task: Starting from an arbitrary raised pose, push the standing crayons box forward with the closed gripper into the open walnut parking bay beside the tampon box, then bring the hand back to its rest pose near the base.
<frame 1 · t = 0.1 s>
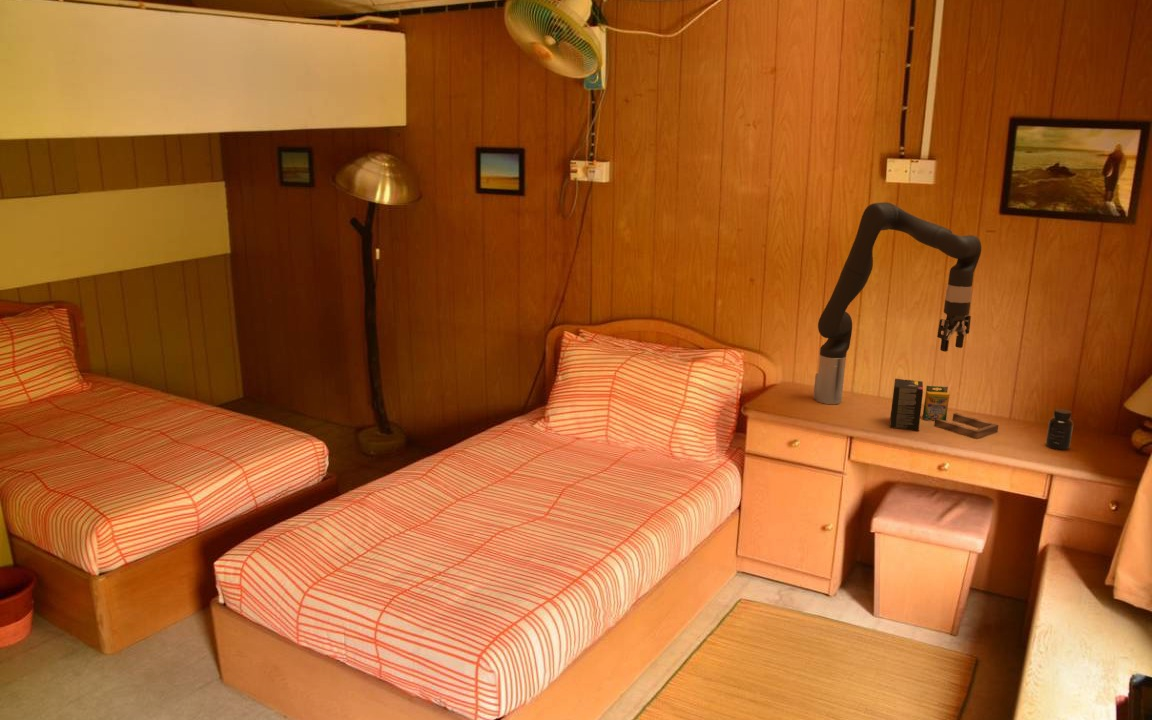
hand: (951, 349, 292), 29 cm above the table, tool pointing down, fingers open, 8 cm apart
supplement bottle: (1057, 447, 292), on the table
bay: (963, 428, 308), on the table
crayon box: (934, 420, 317), on the table
tampon box: (904, 425, 310), on the table
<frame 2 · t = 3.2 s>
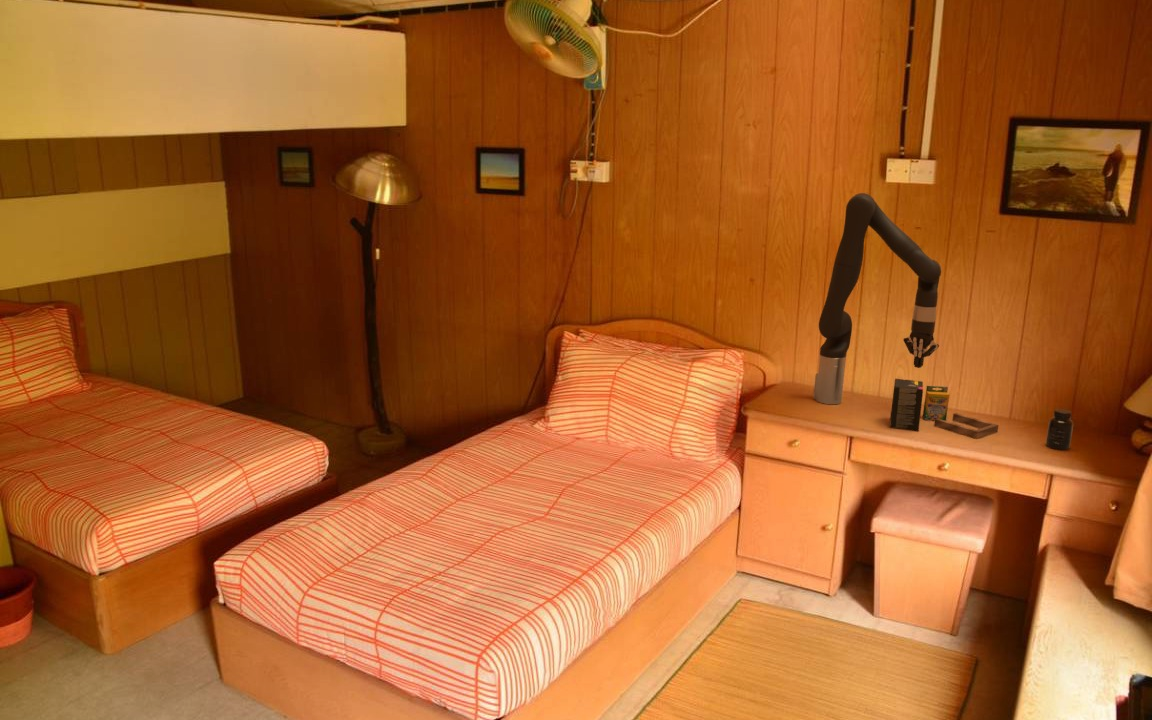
hand: (918, 367, 319), 17 cm above the table, tool pointing down, fingers closed
nothing on the table moved.
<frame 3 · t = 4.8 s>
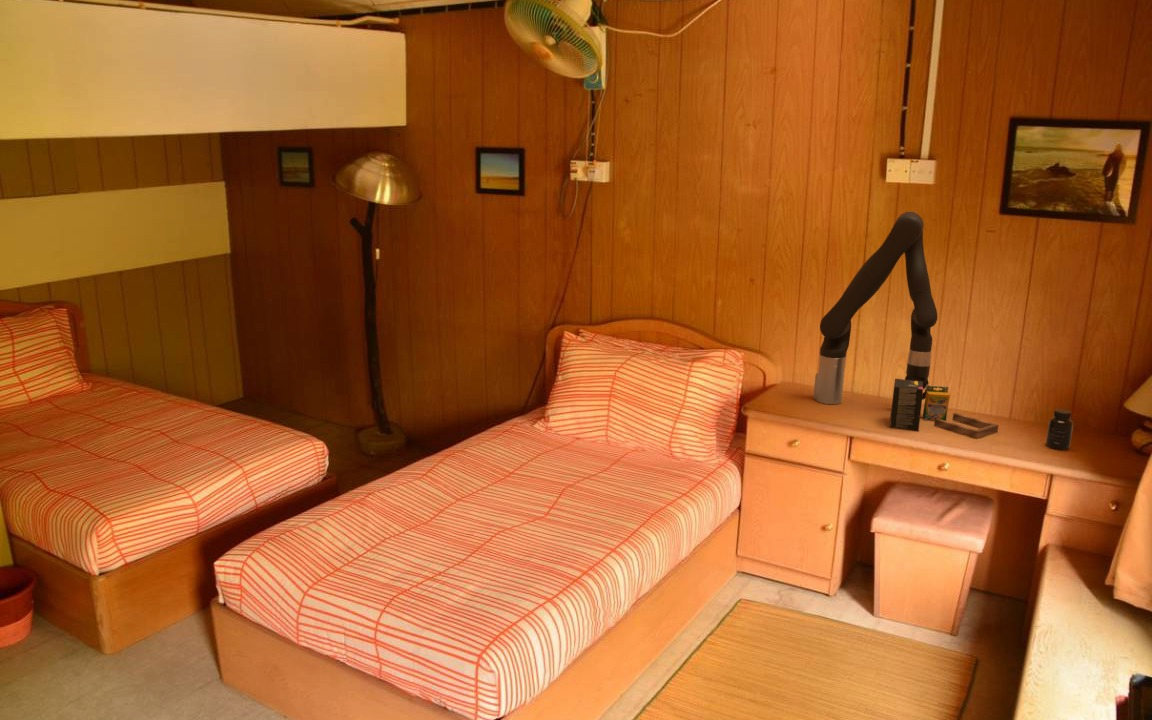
hand: (913, 410, 323), 1 cm above the table, tool pointing down, fingers closed
crayon box: (934, 419, 317), on the table, touching hand
everything else where it was.
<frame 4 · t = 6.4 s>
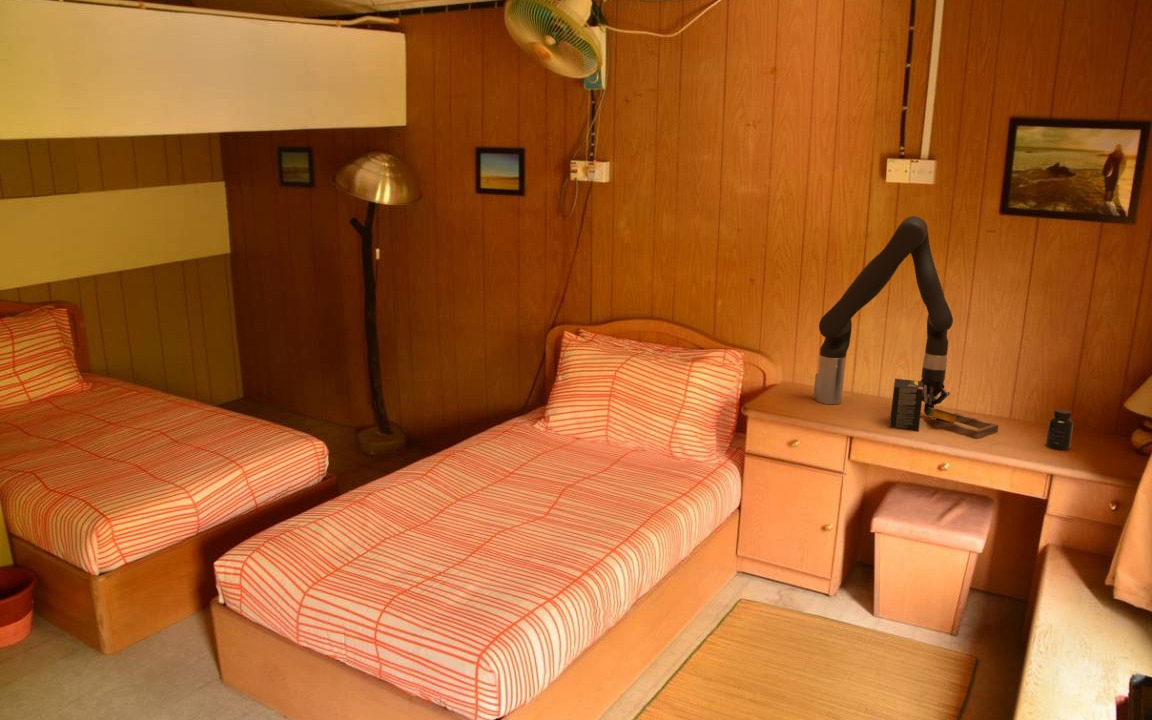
hand: (928, 414, 318), 1 cm above the table, tool pointing down, fingers closed
crayon box: (937, 414, 315), point 2 cm above the table, touching bay, gripper
everything else where it was.
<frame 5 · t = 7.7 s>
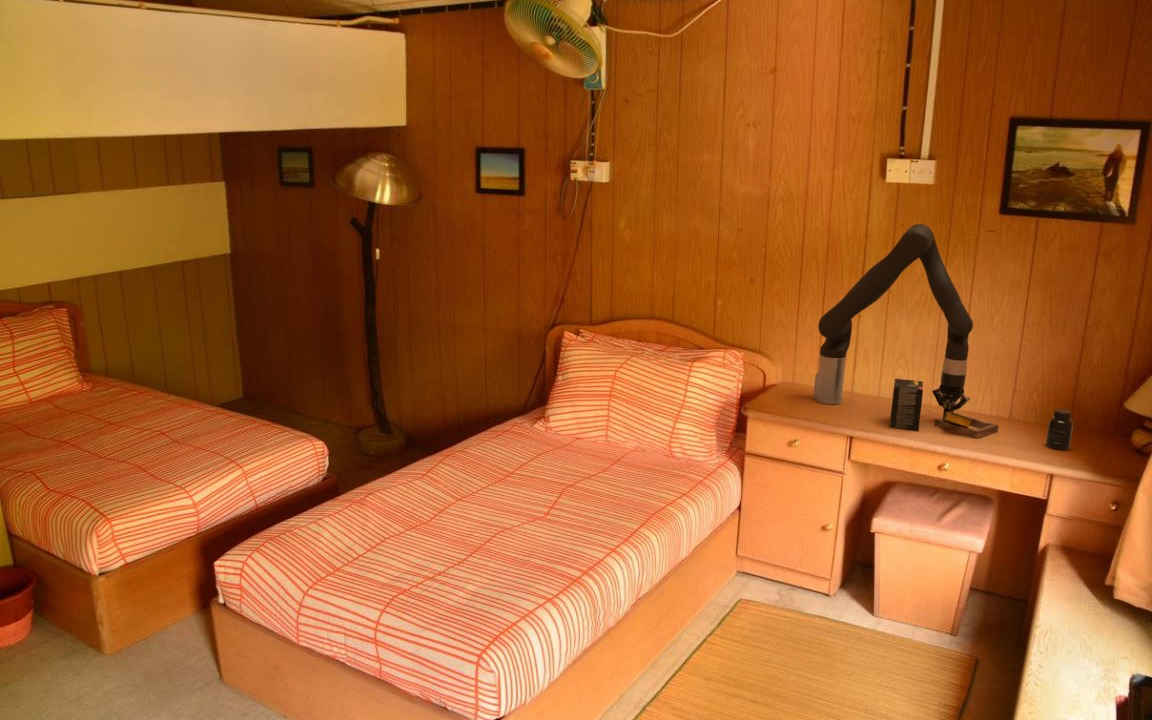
hand: (947, 419, 313), 1 cm above the table, tool pointing down, fingers closed
crayon box: (954, 420, 310), point 2 cm above the table, touching gripper
everything else where it was.
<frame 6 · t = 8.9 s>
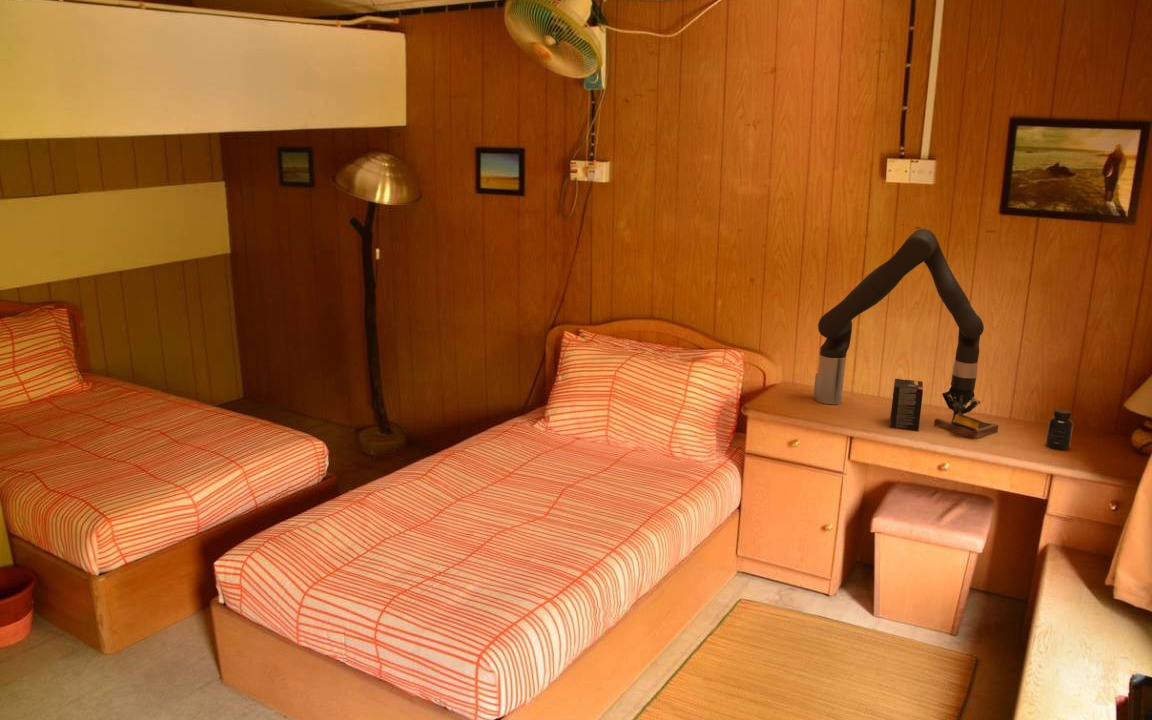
hand: (957, 423, 310), 1 cm above the table, tool pointing down, fingers closed
crayon box: (963, 423, 307), point 2 cm above the table, touching bay, gripper
everything else where it was.
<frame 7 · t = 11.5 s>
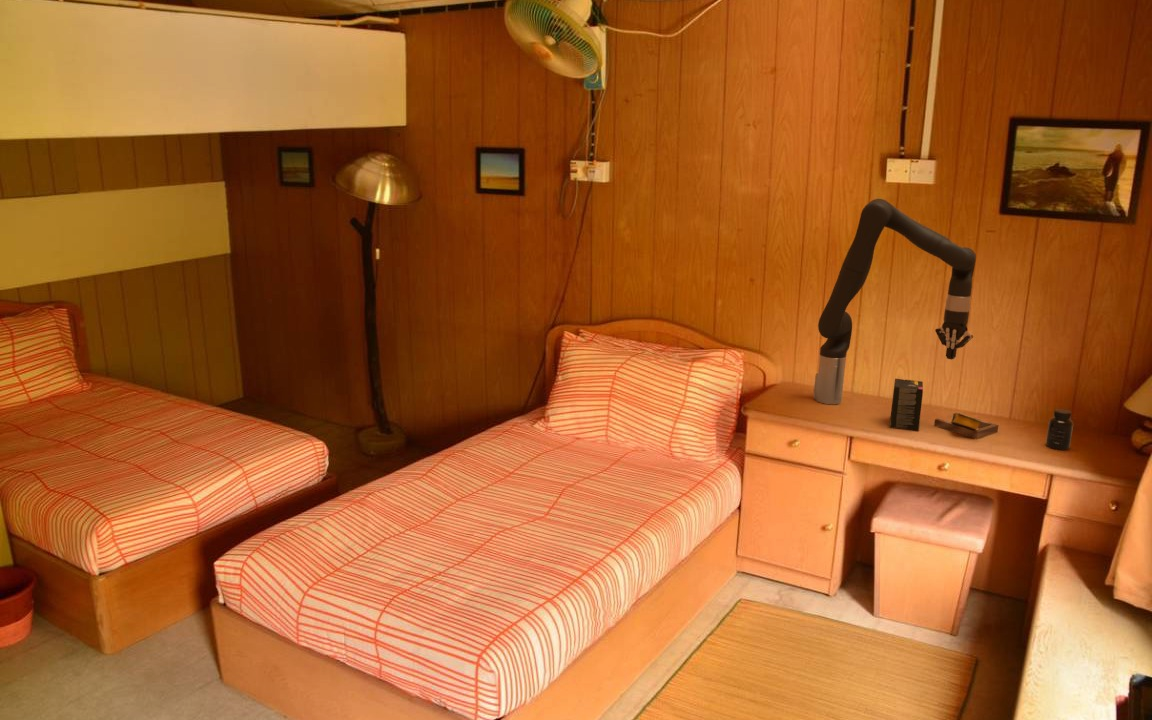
hand: (950, 358, 308), 22 cm above the table, tool pointing down, fingers closed
crayon box: (963, 423, 307), point 2 cm above the table, touching bay
everything else where it was.
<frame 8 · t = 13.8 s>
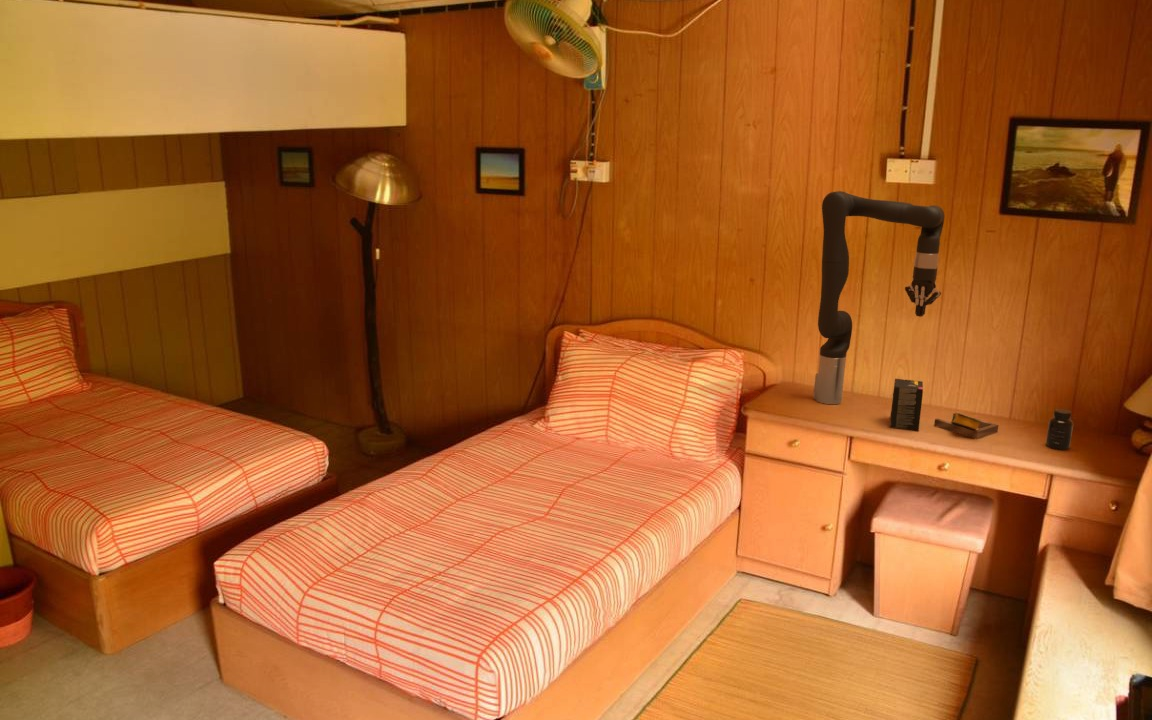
hand: (919, 316, 313), 35 cm above the table, tool pointing down, fingers closed
nothing on the table moved.
at the end: crayon box inside the target area on the bay (0.6 cm from its centre), point 1.9 cm above the bay's base; crayon box moved 11.1 cm from its start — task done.
